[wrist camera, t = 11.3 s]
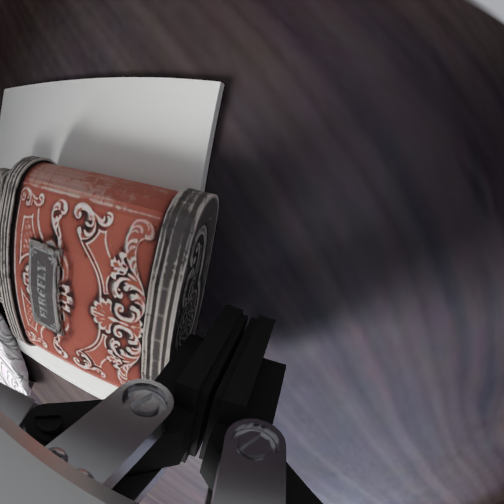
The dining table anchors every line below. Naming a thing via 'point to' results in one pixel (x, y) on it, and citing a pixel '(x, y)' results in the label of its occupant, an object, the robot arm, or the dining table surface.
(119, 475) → the robot arm
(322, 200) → the dining table surface
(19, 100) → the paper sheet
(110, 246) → the lighter
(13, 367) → the cookie jar
